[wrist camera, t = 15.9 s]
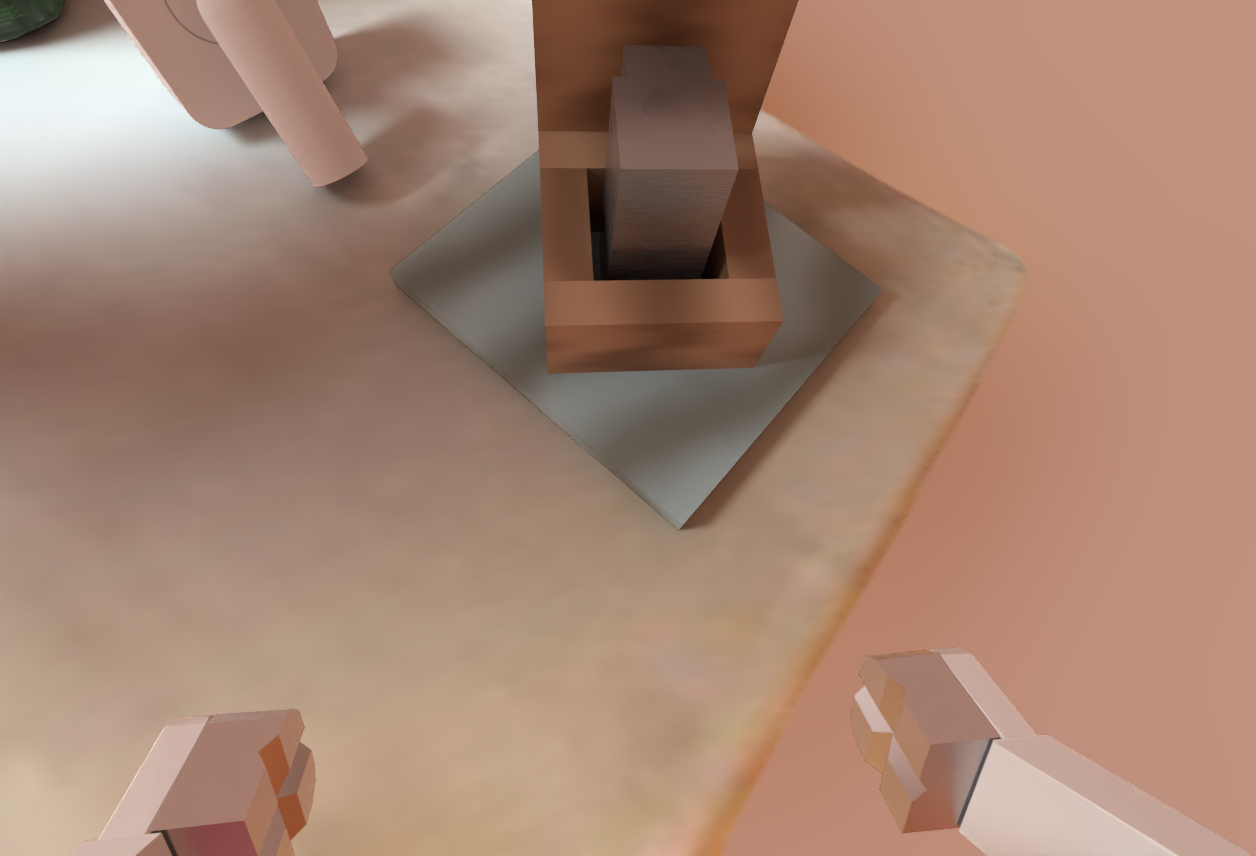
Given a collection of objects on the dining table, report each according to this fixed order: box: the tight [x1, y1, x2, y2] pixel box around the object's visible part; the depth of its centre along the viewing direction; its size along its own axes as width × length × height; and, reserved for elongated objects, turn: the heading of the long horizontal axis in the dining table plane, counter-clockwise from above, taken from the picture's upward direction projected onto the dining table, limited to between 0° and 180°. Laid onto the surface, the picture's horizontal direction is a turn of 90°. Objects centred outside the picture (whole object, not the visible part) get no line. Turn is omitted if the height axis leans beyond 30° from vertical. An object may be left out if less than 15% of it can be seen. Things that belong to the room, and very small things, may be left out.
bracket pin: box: [599, 45, 739, 281], centre depth 28 cm, size 4×6×10 cm
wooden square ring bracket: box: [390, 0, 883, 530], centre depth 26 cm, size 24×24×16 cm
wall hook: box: [104, 0, 368, 187], centre depth 31 cm, size 8×10×10 cm
